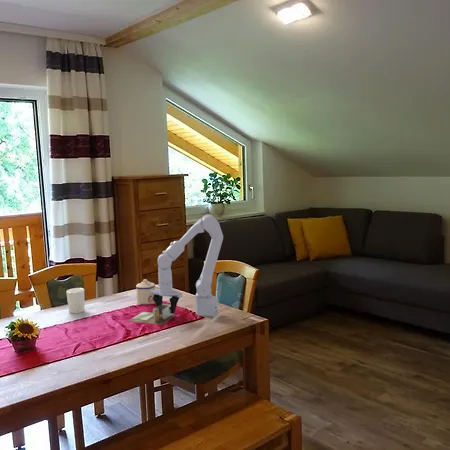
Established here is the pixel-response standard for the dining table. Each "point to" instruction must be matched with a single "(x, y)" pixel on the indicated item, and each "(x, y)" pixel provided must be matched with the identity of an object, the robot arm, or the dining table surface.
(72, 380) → the dining table surface
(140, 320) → the board
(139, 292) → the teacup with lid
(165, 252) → the robot arm
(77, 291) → the white cup
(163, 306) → the c link
